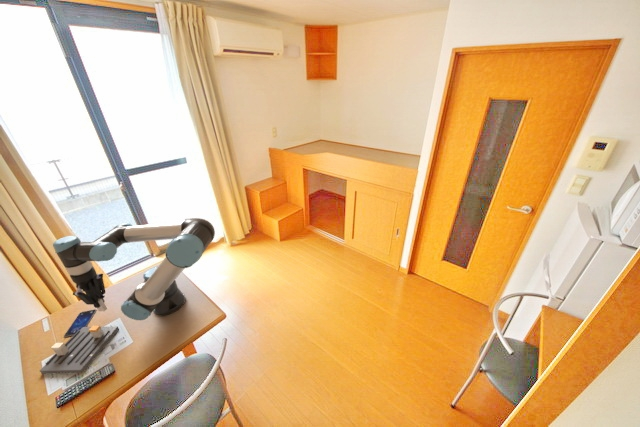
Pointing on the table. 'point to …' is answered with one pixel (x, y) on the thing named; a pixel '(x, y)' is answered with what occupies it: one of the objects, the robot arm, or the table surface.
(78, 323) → the smartphone
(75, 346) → the console
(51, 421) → the table surface
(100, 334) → the block
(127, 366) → the table surface
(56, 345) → the fader
